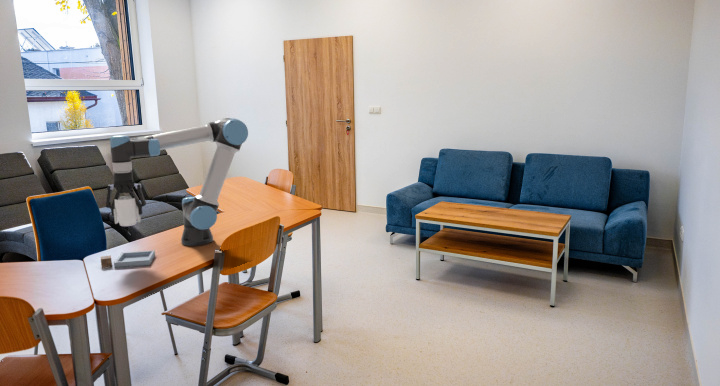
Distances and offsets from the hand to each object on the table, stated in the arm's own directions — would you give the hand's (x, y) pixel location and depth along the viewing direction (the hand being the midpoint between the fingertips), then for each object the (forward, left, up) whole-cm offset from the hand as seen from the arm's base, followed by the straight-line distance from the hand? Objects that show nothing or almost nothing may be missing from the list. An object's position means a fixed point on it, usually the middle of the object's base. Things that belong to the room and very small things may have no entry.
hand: (128, 222), depth 219 cm
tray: (-2, +3, -17) cm, 18 cm away
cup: (0, 0, -1) cm, 1 cm away
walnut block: (+9, +6, -17) cm, 20 cm away
